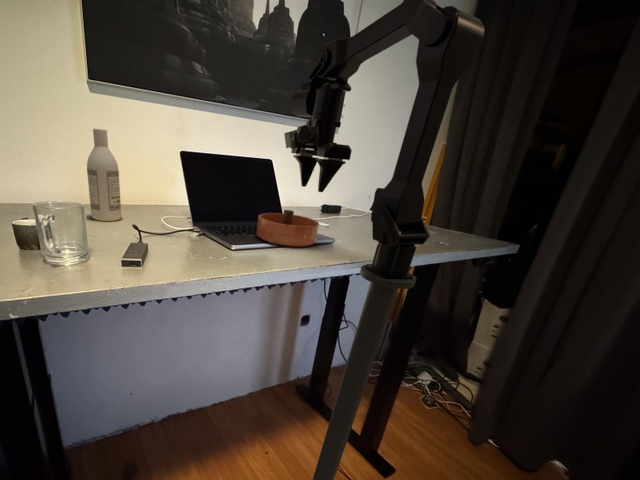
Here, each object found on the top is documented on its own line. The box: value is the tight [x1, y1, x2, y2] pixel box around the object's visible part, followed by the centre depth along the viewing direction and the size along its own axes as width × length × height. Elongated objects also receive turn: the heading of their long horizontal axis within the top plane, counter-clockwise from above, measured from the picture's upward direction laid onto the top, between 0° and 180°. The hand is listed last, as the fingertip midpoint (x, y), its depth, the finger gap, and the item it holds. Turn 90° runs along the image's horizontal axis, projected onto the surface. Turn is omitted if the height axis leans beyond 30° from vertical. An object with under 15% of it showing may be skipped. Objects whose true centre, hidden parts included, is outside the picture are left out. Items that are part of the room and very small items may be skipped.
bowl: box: [255, 212, 320, 248], centre depth 79 cm, size 15×15×5 cm
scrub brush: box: [282, 209, 295, 225], centre depth 79 cm, size 7×4×6 cm, turn 14°
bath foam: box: [86, 128, 122, 222], centre depth 77 cm, size 7×7×20 cm
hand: (311, 189), depth 79 cm, fingers open, 9 cm apart
